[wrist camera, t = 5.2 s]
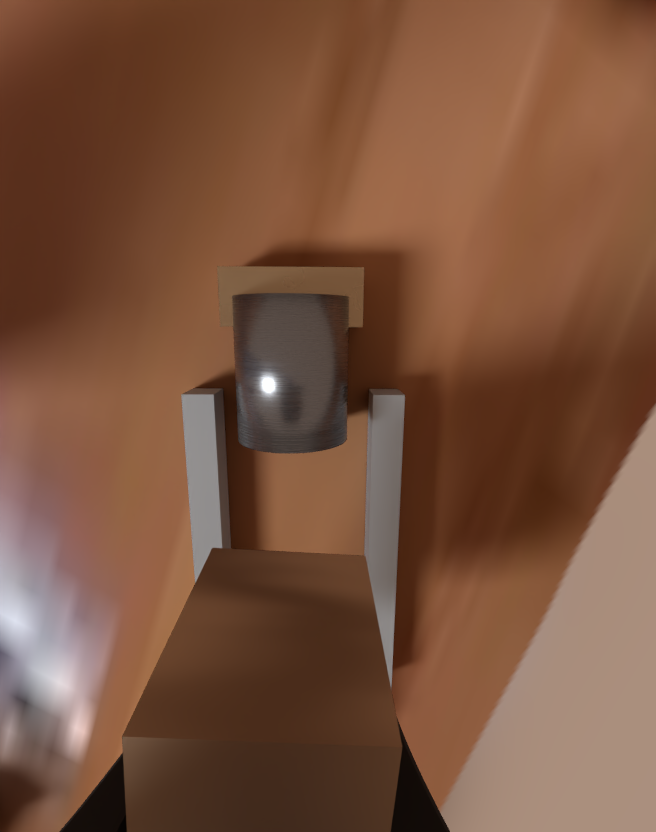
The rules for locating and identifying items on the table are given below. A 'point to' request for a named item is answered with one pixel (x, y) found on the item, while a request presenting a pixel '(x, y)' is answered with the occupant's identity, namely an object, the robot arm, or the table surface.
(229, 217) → the table surface
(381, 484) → the cradle
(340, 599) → the block
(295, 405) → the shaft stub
